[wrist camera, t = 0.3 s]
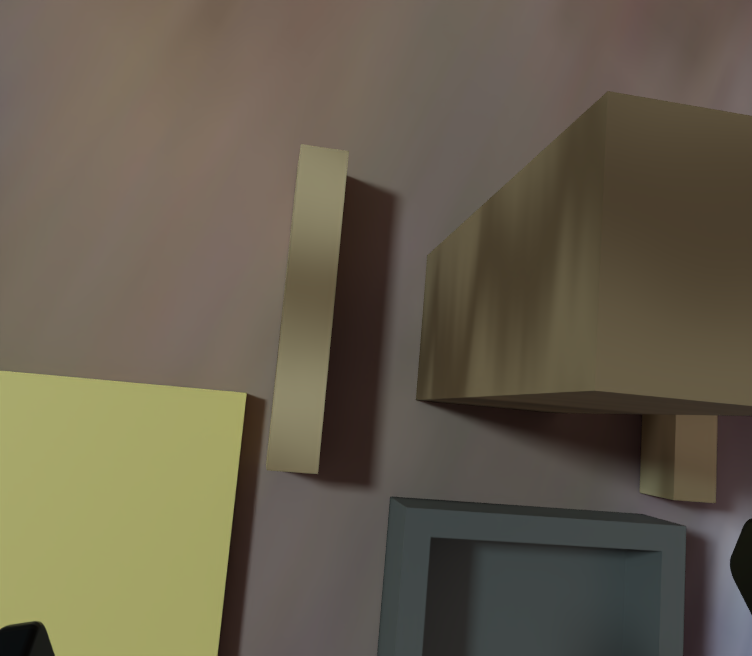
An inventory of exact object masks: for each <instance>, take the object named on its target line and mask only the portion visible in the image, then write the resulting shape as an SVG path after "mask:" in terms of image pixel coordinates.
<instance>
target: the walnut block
mask: <svg viewBox="0 0 752 656" xmlns="http://www.w3.org/2000/svg"><path fill="white" fill-rule="evenodd" d="M416 400H422V401H433V402H443V403H454V404H465V405H476V406H487V407H497V408H508V409H519V410H530V411H541V412H552V413H595V414H659V415H722V416H752V116H749V115H743V114H737V113H732V112H726V111H720V110H714V109H708V108H703V107H697V106H691V105H685V104H679V103H674V102H668V101H662V100H656V99H651V98H645V97H639V96H633V95H627V94H622V93H616V92H610V91H608V92H606V93H605V94H604V95H603V96H602V97H601V98H600V99H599V100H598V101H597V102H595V103H594V104H593V105H592V106H591V107H590V108H589V109H588V110H587V111H586V112H584V113H583V114H582V115H581V116H580V117H579V118H578V119H577V120H576V121H575V122H573V123H572V124H571V125H570V126H569V127H568V128H567V129H566V130H565V131H564V132H562V133H561V134H560V135H559V136H558V137H557V138H556V139H555V140H554V141H553V142H551V143H550V144H549V145H548V146H547V147H546V148H545V149H544V150H543V151H542V152H540V153H539V154H538V155H537V156H536V157H535V158H534V159H533V160H532V161H531V162H530V163H528V164H527V165H526V166H525V167H524V168H523V169H522V170H521V171H520V172H519V173H517V174H516V175H515V176H514V177H513V178H512V179H511V180H510V181H509V182H508V183H506V184H505V185H504V186H503V187H502V188H501V189H500V190H499V191H498V192H497V193H495V194H494V195H493V196H492V197H491V198H490V199H489V200H488V201H487V202H486V203H484V204H483V205H482V206H481V207H480V208H479V209H478V210H477V211H476V212H475V213H473V214H472V215H471V216H470V217H469V218H468V219H467V220H466V221H465V222H464V223H462V224H461V225H460V226H459V227H458V228H457V229H456V230H455V231H454V232H453V233H452V234H450V235H449V236H448V237H447V238H446V239H445V240H444V241H443V242H442V243H441V244H439V245H438V246H437V247H436V248H435V249H434V250H433V251H432V252H431V253H430V254H428V255H427V266H426V279H425V292H424V304H423V317H422V330H421V343H420V355H419V368H418V381H417V394H416Z"/></svg>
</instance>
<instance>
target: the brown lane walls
mask: <svg viewBox="0 0 752 656" xmlns="http://www.w3.org/2000/svg"><path fill="white" fill-rule="evenodd" d="M348 154H349V151H343V150H337V149H330V148H323V147H316V146H310V145H303V144H301V149H300V155H299V161H298V168H297V177H296V187H295V196H294V206H293V215H292V225H291V234H290V244H289V253H288V262H287V272H286V281H285V291H284V300H283V310H282V319H281V329H280V338H279V347H278V357H277V366H276V376H275V385H274V395H273V404H272V414H271V423H270V432H269V442H268V451H267V461H266V468H267V470H271V471H284V472H298V473H312V474H318V467H319V457H320V447H321V436H322V426H323V415H324V405H325V394H326V384H327V373H328V363H329V353H330V342H331V332H332V321H333V311H334V300H335V290H336V280H337V269H338V259H339V248H340V238H341V227H342V217H343V207H344V196H345V186H346V175H347V165H348ZM717 417H718V415H659V414H642V439H641V468H640V493H644V494H648V495H653V496H657V497H662V498H667V499H671V500H680V501H693V502H707V503H716V467H717Z"/></svg>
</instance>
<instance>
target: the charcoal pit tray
mask: <svg viewBox="0 0 752 656" xmlns="http://www.w3.org/2000/svg"><path fill="white" fill-rule="evenodd" d="M685 555H686V526H684V525H680V524H676V523H673V522H669V521H665V520H662V519H658V518H655V517H651V516H647V515H644V514H633V513H619V512H605V511H590V510H576V509H561V508H547V507H532V506H518V505H504V504H489V503H475V502H460V501H446V500H431V499H417V498H403V497H390V505H389V518H388V530H387V542H386V554H385V567H384V579H383V591H382V603H381V616H380V628H379V640H378V652H377V656H683V633H684V594H685Z"/></svg>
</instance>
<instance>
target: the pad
mask: <svg viewBox="0 0 752 656" xmlns="http://www.w3.org/2000/svg"><path fill="white" fill-rule="evenodd" d="M246 397H247V393H241V392H230V391H219V390H208V389H197V388H186V387H175V386H164V385H153V384H141V383H130V382H119V381H108V380H97V379H86V378H75V377H64V376H53V375H42V374H31V373H20V372H9V371H0V629H1V628H3V627H4V626H7V625H10V624H17V623H24V622H31V621H40V622H42V623H43V624H44V626H45V628H46V630H47V633H48V636H49V639H50V642H51V645H52V648H53V651H54V654H55V656H218V649H219V640H220V631H221V622H222V613H223V604H224V595H225V586H226V577H227V568H228V559H229V550H230V541H231V532H232V523H233V514H234V505H235V496H236V487H237V478H238V469H239V460H240V451H241V442H242V433H243V424H244V415H245V406H246Z"/></svg>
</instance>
